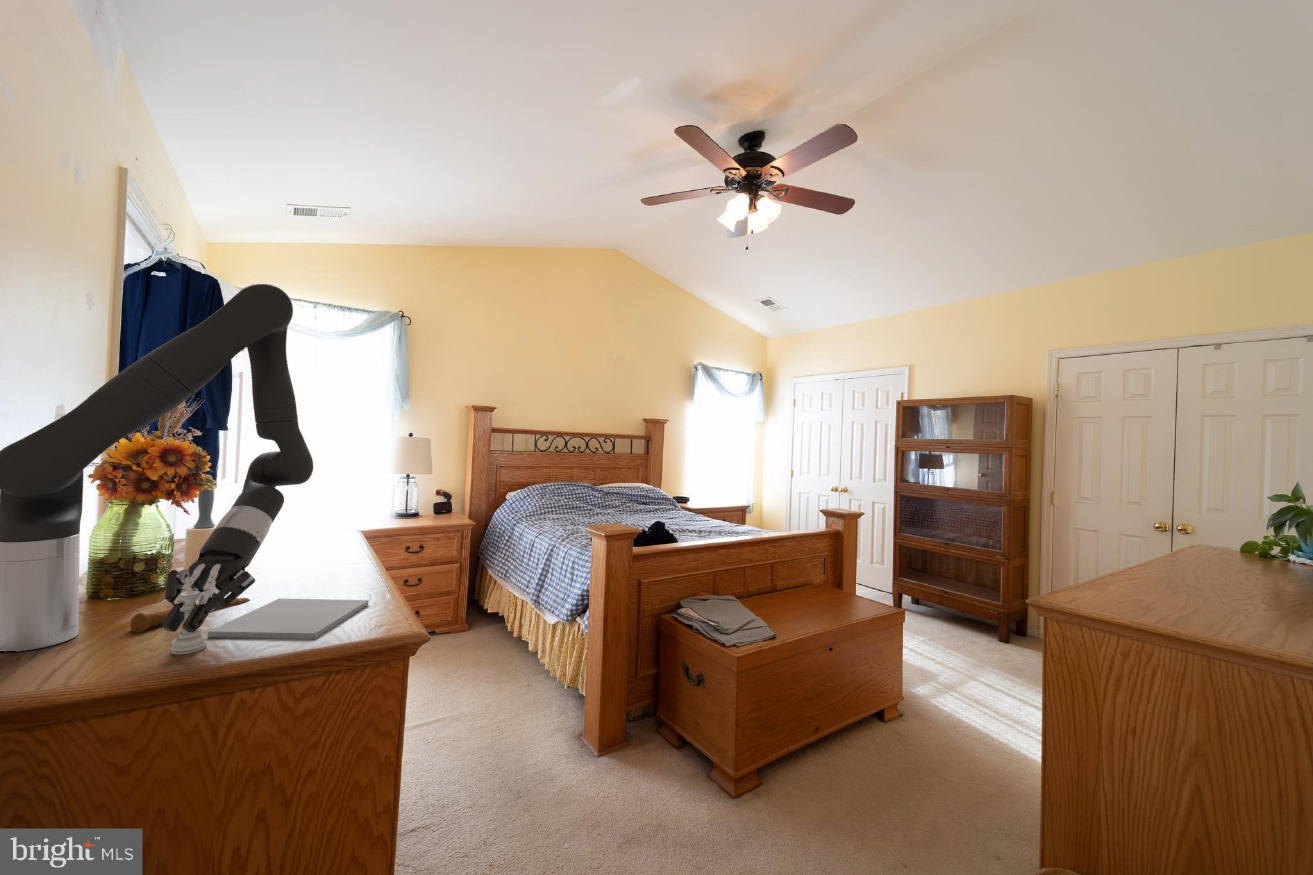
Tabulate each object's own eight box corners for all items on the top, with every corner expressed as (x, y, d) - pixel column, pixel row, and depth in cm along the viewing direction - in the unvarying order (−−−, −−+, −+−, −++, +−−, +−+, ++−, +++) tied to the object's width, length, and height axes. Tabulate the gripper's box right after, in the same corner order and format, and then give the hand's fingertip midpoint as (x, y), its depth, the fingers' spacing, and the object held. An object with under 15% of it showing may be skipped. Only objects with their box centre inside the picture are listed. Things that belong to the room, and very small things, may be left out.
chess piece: (164, 652, 85) (165, 589, 85) (195, 642, 89) (196, 582, 89) (182, 656, 84) (183, 593, 84) (213, 646, 88) (214, 585, 88)
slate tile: (207, 637, 92) (207, 631, 92) (279, 603, 110) (279, 598, 110) (314, 639, 92) (315, 633, 92) (368, 604, 110) (368, 600, 110)
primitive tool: (230, 600, 112) (231, 583, 112) (253, 602, 111) (253, 585, 111) (125, 633, 93) (125, 613, 93) (150, 637, 92) (151, 617, 92)
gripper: (186, 524, 94) (116, 618, 82) (267, 525, 94) (210, 620, 82) (210, 547, 99) (148, 639, 87) (286, 549, 99) (235, 641, 87)
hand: (178, 629), depth 84 cm, fingers closed on chess piece, 2 cm apart
